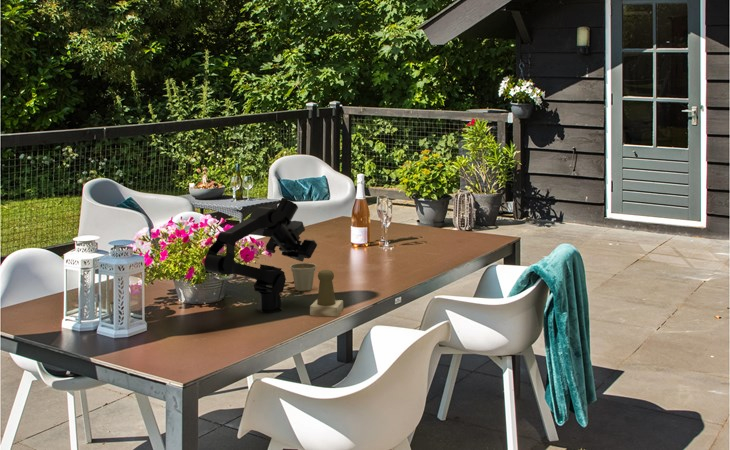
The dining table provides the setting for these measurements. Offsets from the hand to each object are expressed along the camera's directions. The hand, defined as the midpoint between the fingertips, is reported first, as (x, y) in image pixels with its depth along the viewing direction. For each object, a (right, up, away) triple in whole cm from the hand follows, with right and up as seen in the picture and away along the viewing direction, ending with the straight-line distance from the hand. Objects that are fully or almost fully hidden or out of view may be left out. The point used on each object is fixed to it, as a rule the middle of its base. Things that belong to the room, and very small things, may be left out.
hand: (302, 260), depth 327 cm
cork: (+9, -14, -15) cm, 22 cm away
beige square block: (+9, -16, -15) cm, 24 cm away
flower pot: (-1, -11, +16) cm, 19 cm away
